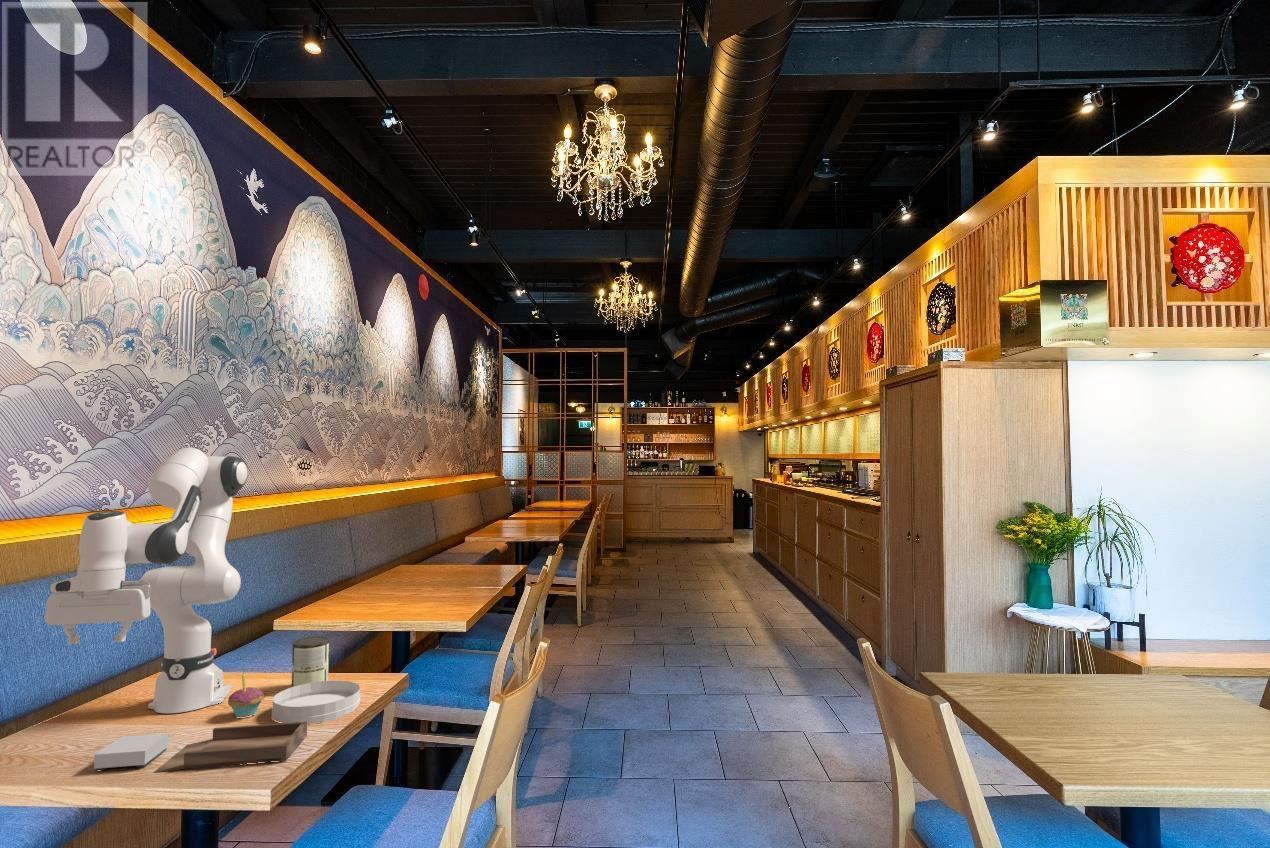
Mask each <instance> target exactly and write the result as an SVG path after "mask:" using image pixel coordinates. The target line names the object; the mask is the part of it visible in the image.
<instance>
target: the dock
mask: <svg viewBox="0 0 1270 848" xmlns="http://www.w3.org/2000/svg"><path fill="white" fill-rule="evenodd" d="M305 737H306V738H307V737H308V725H307V721H306V722H292V723H267V724H251V725H239V726H238V725H237V726H222V727H215V728H213V729H212V739H211V738H210V739H206V740H201V741H198V742H193V743H189V744H186V745H185V746H183V748H181V749H180V750H179V751H177V753H175V754H174V755H173V756H171V759H170V758H169V759H168V760H167V761H165V762H164V763H163V764H162V765H160V766H159V767H158V768H157V769H156V770H155V771H153V773H164V772H165V773H166V772H174V771H177V770H182V769H183V771H188V770H190V771H191V770H199V769H200V770H201V769H211V768H224V767H223V766H228V767H231V766H230V765H240V764H247V763H258V762H271V761H286V760H287V759H288V758H291V756H292V755H293V754H294V753H295V752H296V750H297V749H298V748H299V746H300V745H301V743H303V742H304V740H305V739H306V738H305ZM288 760H289V759H288ZM288 760H287V761H288ZM287 761H286V762H287ZM240 766H241V765H240Z"/></svg>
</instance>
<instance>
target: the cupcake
mask: <svg viewBox="0 0 1270 848" xmlns="http://www.w3.org/2000/svg"><path fill="white" fill-rule="evenodd" d="M241 679H242V681H241V682H242V688H240V689H238V690H235V691H234V692H233V693H231V694H229V696H228V701H227V705H228V706H229V707H231V709H232V711H233V713H234V717H235V718H236V717H246V716H250V715H253V714H255V713H256V714H257V711H258V708H259V706H260V704H261V702H262V701H264V699H265V694H264V692H263V690H261V689H259V688H257V687H247V686H246V675H245V673H244V672H243V671H242V677H241ZM256 714H255V715H256Z"/></svg>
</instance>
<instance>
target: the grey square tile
mask: <svg viewBox="0 0 1270 848" xmlns="http://www.w3.org/2000/svg"><path fill="white" fill-rule="evenodd" d="M169 736H170V735H169V732H167V733H155V734H143V735H142V734H140V735H128V736H127V735H126V736H125V735H124V736H119V738H117V739H116V740H114V741H113V742H112V743H110V744H109V745H107V746H105V747H103V749H101V750H99V751H97V752H96V753H94V756H93V757H94V759H93V769H94V770H95V771H96V772H97V770H104V771H105V770H106V769H108V768H118V767H119V768H121V767H133V766H135V767H136V768H137V769H144V768H146V767H147V766H148V765H150V763H151V762H154V760H156V759H157V758H158V757H159V756H160V755H162V754H163V753H164V752H165V751H166V750H167V748H168V747H169Z"/></svg>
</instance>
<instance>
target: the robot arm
mask: <svg viewBox="0 0 1270 848" xmlns="http://www.w3.org/2000/svg"><path fill="white" fill-rule="evenodd" d="M248 475H249V471H248V465H247V462H245V460H244V459H243V458H241V457H237V456H234V455H233V456H231V455H228V456H222V455H221V456H219V455H218V456H217V455H206V453H205V452H203V451H202V450H200V449H199V448H194V447H182V448H180V449H178V450H175V451H174V453H172V454H171V455H169V456H168V457H167V458H165V460H164V461H163V462H162V463H160V465H159V466H158V467H157V469H156V470H155V471H154V472H153V473H152V475H151V476H150V478H149V480H148V482H147V489H148V493H149V496H150V497H151V498H152V499H153V500H154V501H155V502H156V503H157V504H159V505H161V506H162V507H165V508H168V509H173V510H174V511H173V513H172V515H171V518H170V519H169V520H167V521H165V522H161V523H133V522H130V521H129V520H128V519H127V514H126V512H123V511H120V510H105V511H98V512H94V513H91V514H89V515H87V516H86V517H85V519H84V521H83V524H82V528H81V532H80V537H79V546H78V552H79V555H80V556H79V557H80V560H79V561H80V562H79V564H78V567H77V571H76V574H77V575H76V576H70V577H69V578H66V579H62V580H59V581H56V582H53V583H51V584H50V588H49V589H50V592H51V594H50V595H49V596H48V598H47V601H46V603H45V609H44V610H45V611H44V621H45V623H46V624H47V625H48V626H60V625H62V630H63V633H65V635H66V636H67V637H68V639H67V645H77V644H80V642H81V634H77V633H76V631H75V629H74V628H77V625H83V624H106V623H120V628H121V627H122V628H121V630H120V632H118V633H115V634H114V643H122V642H123V643H124V642H125V641H127V640H126V639H127V633H128V632H129V630H130V629H131V627H132V626H133V622H141V621H144V620H147V619H148V618H149V617H150V616H151V614H152V613H151V609H152V610H153V611H154V613H155V614H156V615H157V616H158V618H159V620H160V623H161V625H162V629H163V644H164V645H163V646H164V647H163V649H164V650H163V656H162V658H161V661H160V662H161V664H160V665H161V667H160V669H161V671H162V672H161V673H160V674H159V675H158V676H157V677H156V678H155V685H154V694H153V699H152V700H153V701H151V702H149V703H148V705H147V708H148V709H151V710H153V711H154V712H155V713H158V714H179V713H185V712H190V711H195V710H199V709H203V708H206V707H209V706H215V705H218V703H219V704H222V703H223V702H224V701H225V699H226V698H225V697H228V695H229V693H230V692H231V690H232V689H233V687H232V686H233V685H232V684H227V683H226V684H225V683H224V671H223V670H222V669H221V668H219V667H218V666H217V665H216V664H215V663H214V662H215V661H214V657H215V656H216V655H217V648H212V647H211V645H212V624H211V623H210V622H209V620H208V619H206V618H205V617H202V616H201V615H198V613H196V612H195V610H194V609H193V607H192V605H193V606H194V605H213V604H214V605H215V604H220V603H224V602H227V601H231V600H232V599H234V598H235V597H236V596H237V595H238V593H239V591H240V588H241V583H242V579H241V575H240V572H238V569H236V568H235V567H234V566H232V565H231V564H230V563H229V560H228V559H227V557H226V553H225V552H226V551H225V550H226V549H225V548H226V542H227V537H228V533H229V529H230V526H231V525H230V524H231V522H232V521H231V520H232V517H233V516H232V515H233V507H234V506H233V504H234V503H233V501H234V499H233V498H234V497H235V496H236V495H237V494H238V493H239V492H240V490H242V488H243V487H244V486H245V484H246V482H247V480H248V478H249V476H248ZM185 553H187V554H188V555H189V556H191V557H194V558H195V561H194V564H193V565H176V566H175V565H173V566H172V565H171V564H173V563H174V564H175V562H177V561H178V560H179V559H180V558H181V557H182V556H183V555H184V554H185ZM127 564H159V565H171V566H163V567H158V568H153V569H149V570H148V571H146V572H145V573H144V574H143V575H142V576H141V578H140V579H139V580H126V572H127V570H126V569H127ZM231 688H232V689H231ZM230 689H231V690H230ZM229 691H230V692H229ZM227 694H228V695H227ZM224 698H225V699H224ZM223 700H224V701H223ZM222 701H223V702H222ZM221 702H222V703H221Z"/></svg>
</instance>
